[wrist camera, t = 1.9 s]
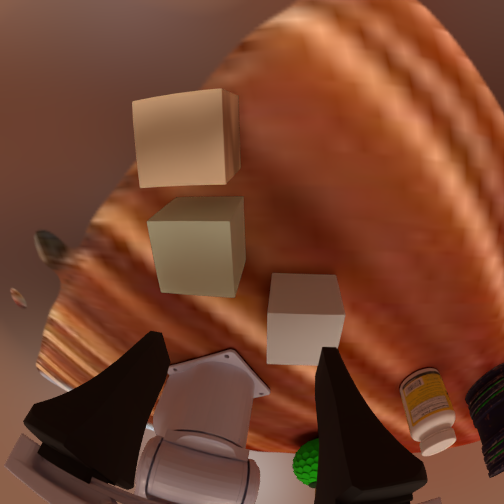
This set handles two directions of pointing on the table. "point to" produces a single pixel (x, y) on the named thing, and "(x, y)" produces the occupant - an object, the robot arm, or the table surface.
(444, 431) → the supplement bottle
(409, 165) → the table surface
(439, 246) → the table surface
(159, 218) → the sage block
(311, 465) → the ornament
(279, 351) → the white cube
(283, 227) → the table surface
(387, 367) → the table surface
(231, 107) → the birch block
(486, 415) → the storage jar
